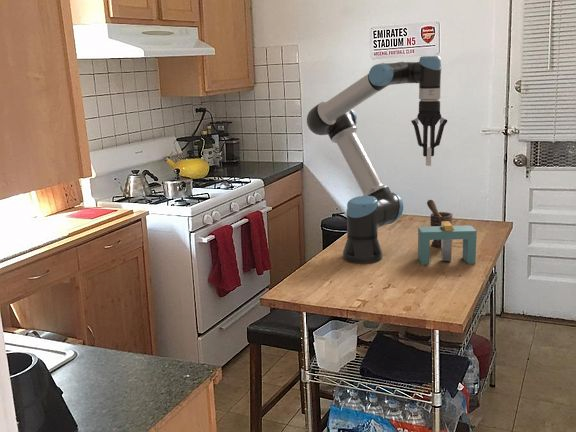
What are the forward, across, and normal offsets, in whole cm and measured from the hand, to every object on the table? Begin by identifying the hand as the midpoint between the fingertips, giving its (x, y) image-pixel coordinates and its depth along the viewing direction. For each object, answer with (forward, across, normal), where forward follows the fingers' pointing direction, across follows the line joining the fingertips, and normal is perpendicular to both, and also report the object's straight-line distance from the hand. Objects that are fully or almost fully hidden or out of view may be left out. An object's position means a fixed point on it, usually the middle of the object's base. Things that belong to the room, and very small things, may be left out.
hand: (428, 165), depth 244 cm
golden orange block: (+36, +7, -2) cm, 37 cm away
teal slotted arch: (+36, +7, -2) cm, 37 cm away
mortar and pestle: (+37, +8, +17) cm, 41 cm away
